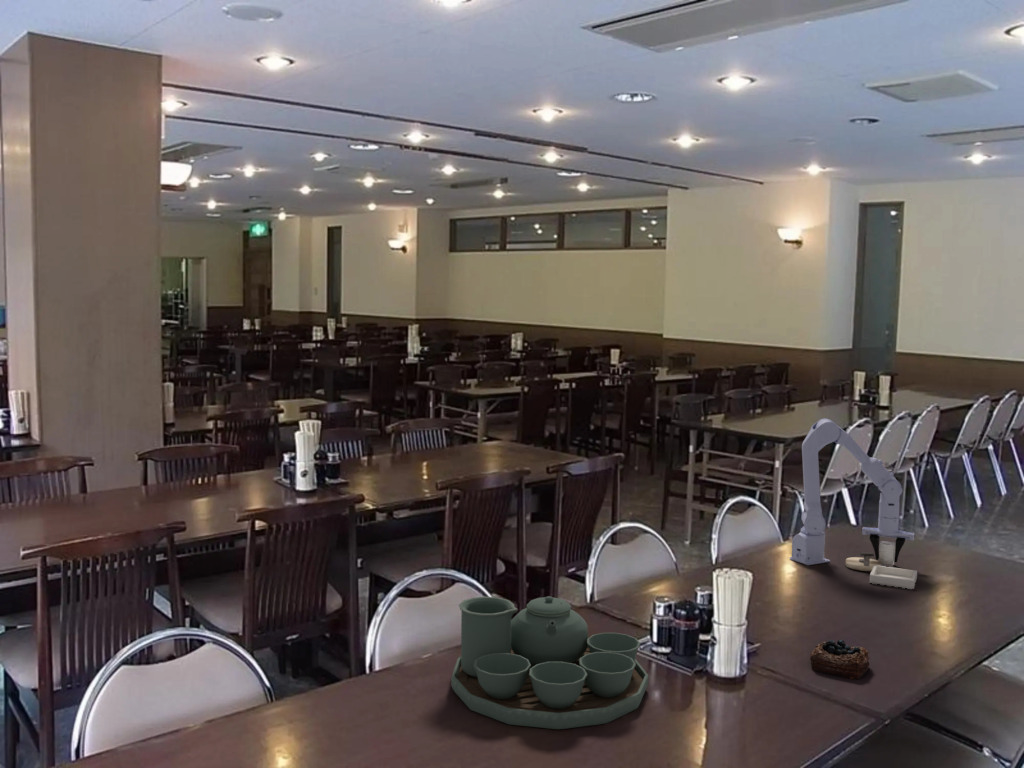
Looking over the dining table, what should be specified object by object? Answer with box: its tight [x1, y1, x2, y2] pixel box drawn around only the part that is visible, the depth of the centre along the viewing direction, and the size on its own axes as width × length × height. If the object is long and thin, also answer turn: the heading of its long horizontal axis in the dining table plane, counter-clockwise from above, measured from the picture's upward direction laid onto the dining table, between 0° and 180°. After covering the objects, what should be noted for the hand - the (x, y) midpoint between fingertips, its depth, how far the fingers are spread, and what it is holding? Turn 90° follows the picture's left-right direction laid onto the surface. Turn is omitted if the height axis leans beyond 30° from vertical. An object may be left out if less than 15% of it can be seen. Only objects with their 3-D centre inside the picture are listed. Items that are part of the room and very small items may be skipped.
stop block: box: [878, 540, 896, 567], centre depth 280 cm, size 4×4×7 cm
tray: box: [869, 565, 918, 590], centre depth 264 cm, size 12×12×2 cm
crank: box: [844, 551, 881, 572], centre depth 278 cm, size 10×10×5 cm
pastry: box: [809, 639, 870, 680], centre depth 200 cm, size 11×12×6 cm
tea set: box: [450, 595, 650, 730], centre depth 188 cm, size 40×40×16 cm
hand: (886, 560), depth 280 cm, fingers open, 5 cm apart
